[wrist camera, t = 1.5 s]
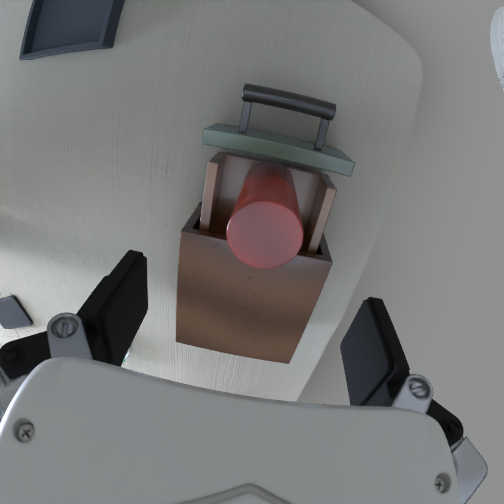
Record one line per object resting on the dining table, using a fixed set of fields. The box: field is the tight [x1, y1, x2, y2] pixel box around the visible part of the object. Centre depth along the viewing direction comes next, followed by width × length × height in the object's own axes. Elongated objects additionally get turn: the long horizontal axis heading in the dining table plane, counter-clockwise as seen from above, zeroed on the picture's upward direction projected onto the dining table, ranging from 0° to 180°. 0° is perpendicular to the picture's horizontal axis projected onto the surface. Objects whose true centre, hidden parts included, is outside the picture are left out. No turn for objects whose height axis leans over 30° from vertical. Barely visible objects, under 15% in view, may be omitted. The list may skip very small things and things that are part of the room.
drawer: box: [199, 84, 355, 254], centre depth 24 cm, size 16×11×5 cm
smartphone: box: [0, 296, 33, 329], centre depth 42 cm, size 7×1×15 cm
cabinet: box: [176, 202, 332, 364], centre depth 29 cm, size 14×13×7 cm
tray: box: [19, 0, 124, 60], centre depth 17 cm, size 13×10×2 cm
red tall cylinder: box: [226, 162, 303, 269], centre depth 21 cm, size 4×4×10 cm
